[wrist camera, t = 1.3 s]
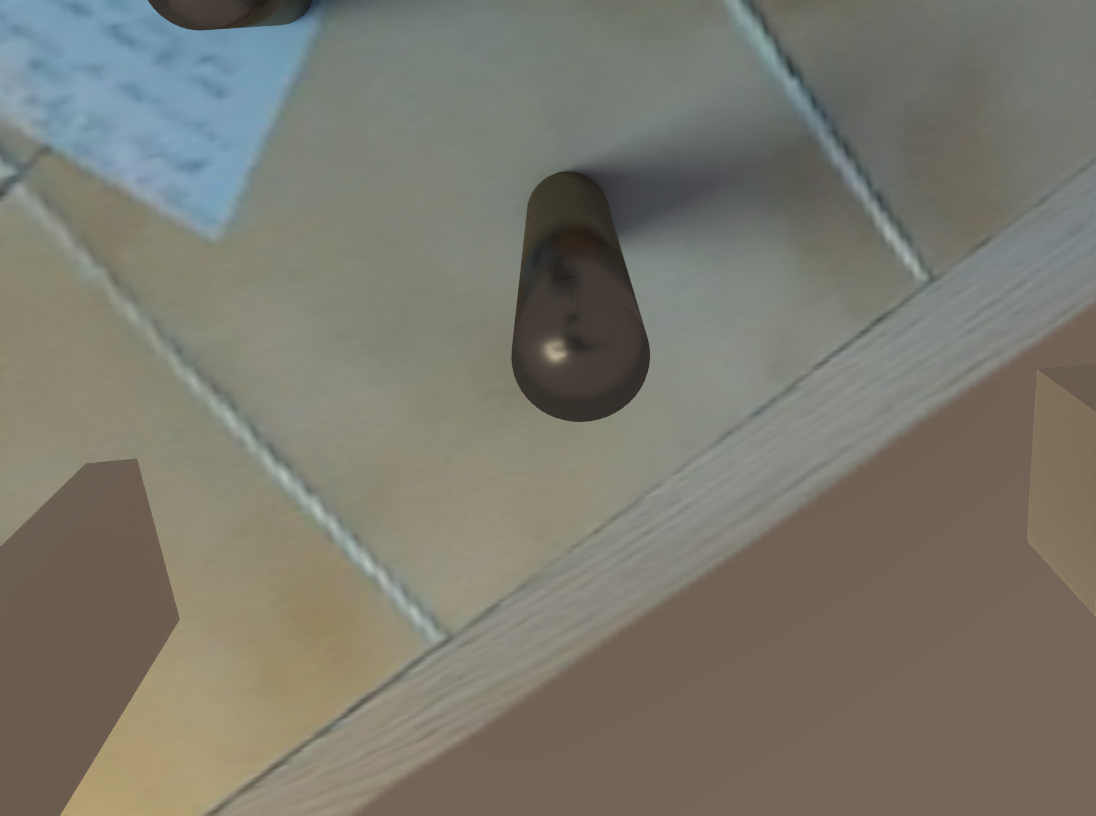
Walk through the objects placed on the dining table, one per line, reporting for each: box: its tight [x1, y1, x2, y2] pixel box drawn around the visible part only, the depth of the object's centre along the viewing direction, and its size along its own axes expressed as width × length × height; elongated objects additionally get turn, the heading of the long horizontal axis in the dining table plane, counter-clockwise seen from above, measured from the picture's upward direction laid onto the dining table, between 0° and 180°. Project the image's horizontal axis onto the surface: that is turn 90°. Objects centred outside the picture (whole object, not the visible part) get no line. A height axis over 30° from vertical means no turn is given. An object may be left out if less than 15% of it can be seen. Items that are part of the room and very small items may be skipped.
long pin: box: [512, 172, 650, 422], centre depth 29 cm, size 3×3×16 cm
